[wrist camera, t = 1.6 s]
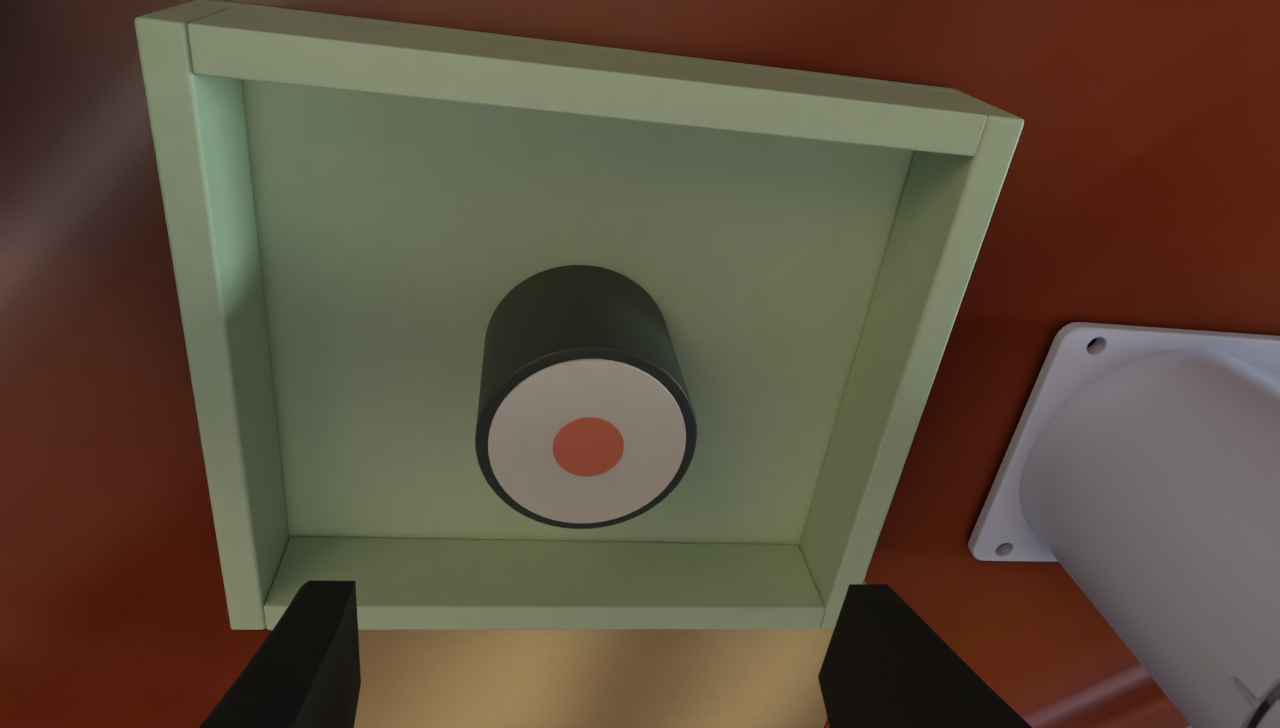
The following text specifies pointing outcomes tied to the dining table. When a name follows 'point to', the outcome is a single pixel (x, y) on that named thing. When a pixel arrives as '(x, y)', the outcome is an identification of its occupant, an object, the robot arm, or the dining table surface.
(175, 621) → the dining table surface
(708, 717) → the board
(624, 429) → the sushi roll
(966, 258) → the tray
